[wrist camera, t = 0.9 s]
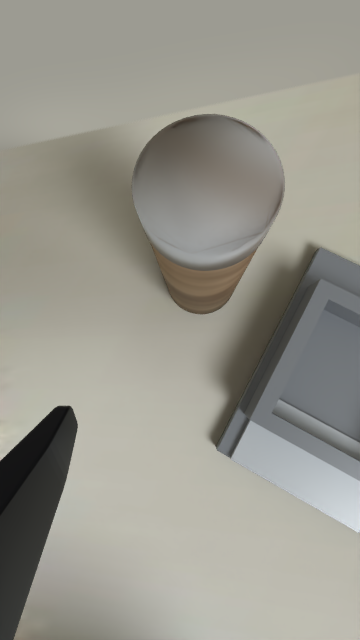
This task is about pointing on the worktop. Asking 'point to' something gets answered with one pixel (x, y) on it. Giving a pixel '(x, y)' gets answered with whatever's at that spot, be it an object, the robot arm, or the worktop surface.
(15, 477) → the robot arm
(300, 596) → the worktop surface
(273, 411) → the cradle
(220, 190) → the round tan cylinder
